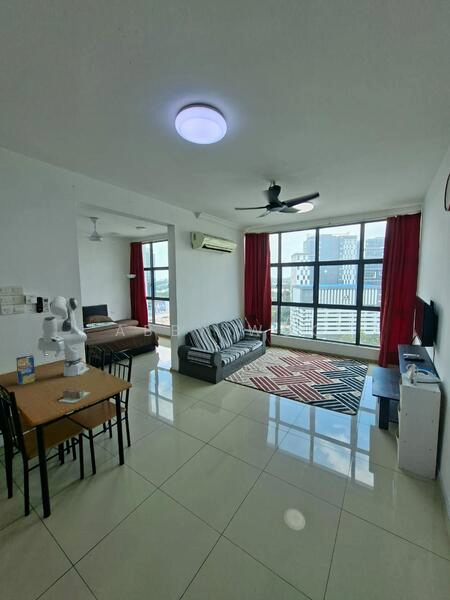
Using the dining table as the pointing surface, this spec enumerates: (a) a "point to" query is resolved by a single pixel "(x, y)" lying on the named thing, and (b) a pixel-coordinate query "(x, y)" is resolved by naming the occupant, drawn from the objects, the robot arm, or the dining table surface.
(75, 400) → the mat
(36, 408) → the dining table surface
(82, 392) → the block
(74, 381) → the dining table surface
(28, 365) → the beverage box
